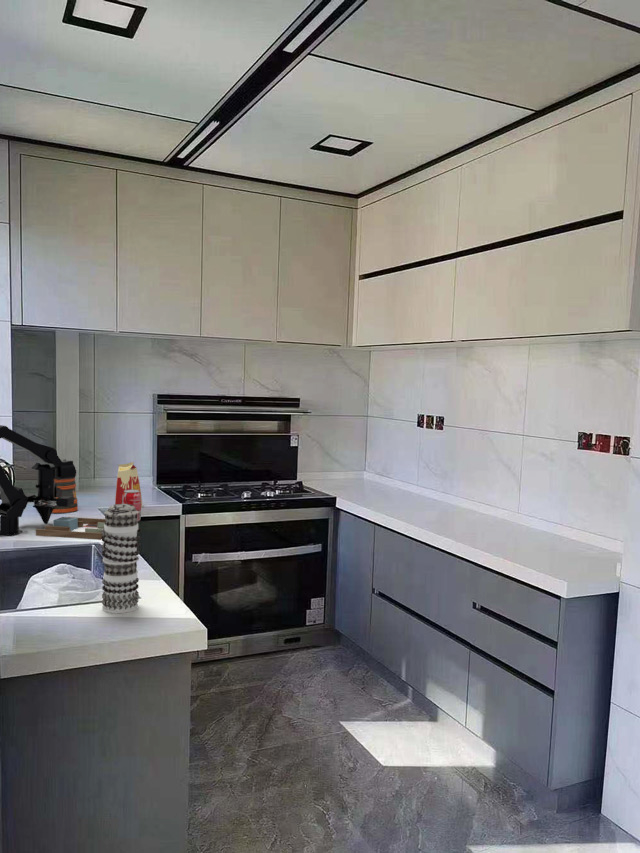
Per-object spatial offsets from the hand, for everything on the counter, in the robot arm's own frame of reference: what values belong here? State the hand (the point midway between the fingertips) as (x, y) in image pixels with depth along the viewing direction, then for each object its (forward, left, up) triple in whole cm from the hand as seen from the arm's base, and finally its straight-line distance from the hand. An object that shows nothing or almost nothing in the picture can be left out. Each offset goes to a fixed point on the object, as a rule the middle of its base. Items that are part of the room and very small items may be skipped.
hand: (46, 523), depth 249 cm
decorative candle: (-76, -60, -2) cm, 97 cm away
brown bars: (0, -16, -2) cm, 16 cm away
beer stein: (+34, +13, -2) cm, 36 cm away
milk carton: (+44, -12, -2) cm, 46 cm away
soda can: (+19, -24, -2) cm, 31 cm away
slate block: (0, -7, -2) cm, 8 cm away
